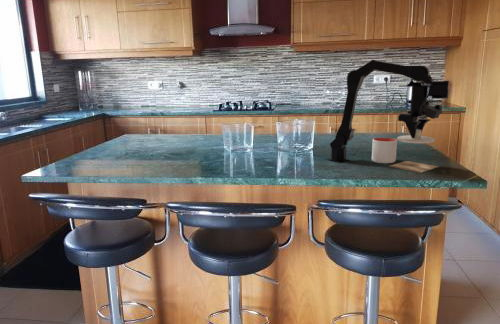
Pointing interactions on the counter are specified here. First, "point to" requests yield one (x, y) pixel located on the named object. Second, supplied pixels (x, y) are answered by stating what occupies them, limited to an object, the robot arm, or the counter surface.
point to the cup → (384, 150)
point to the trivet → (413, 166)
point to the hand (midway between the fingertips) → (415, 137)
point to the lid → (416, 138)
